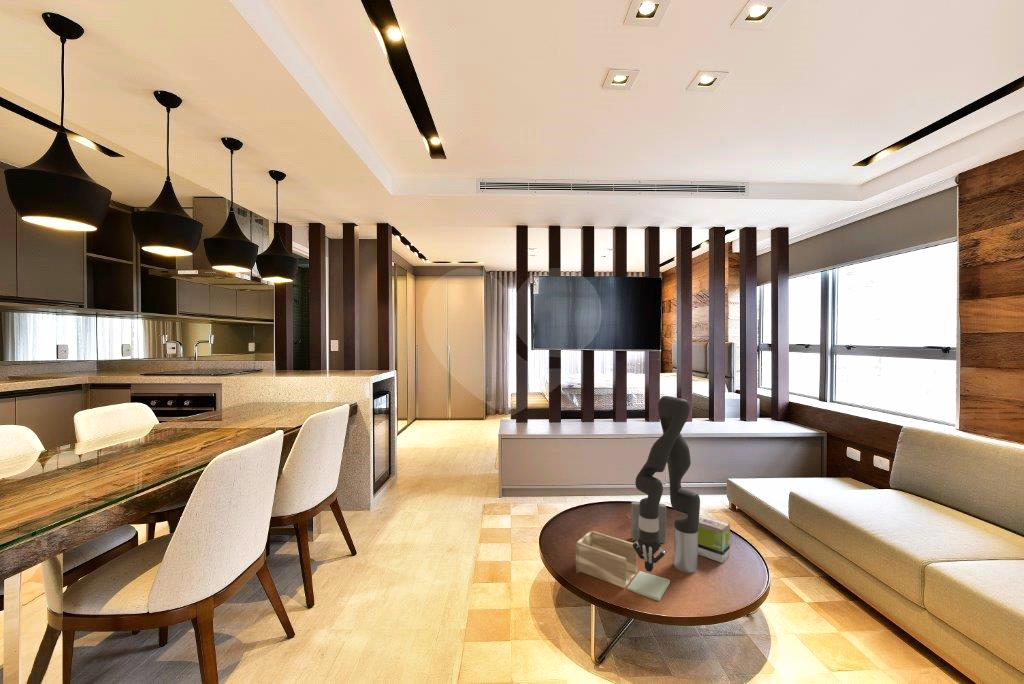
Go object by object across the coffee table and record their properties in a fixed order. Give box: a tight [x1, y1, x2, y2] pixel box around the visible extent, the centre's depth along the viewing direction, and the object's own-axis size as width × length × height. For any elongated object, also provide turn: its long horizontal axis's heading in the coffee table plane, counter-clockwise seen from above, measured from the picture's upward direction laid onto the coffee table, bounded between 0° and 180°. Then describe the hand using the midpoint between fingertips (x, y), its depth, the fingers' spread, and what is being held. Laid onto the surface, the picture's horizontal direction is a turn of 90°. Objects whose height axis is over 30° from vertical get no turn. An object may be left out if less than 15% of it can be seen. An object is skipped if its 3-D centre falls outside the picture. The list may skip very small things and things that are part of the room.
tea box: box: [698, 514, 731, 564], centre depth 187 cm, size 15×10×15 cm, turn 44°
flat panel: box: [626, 570, 671, 602], centre depth 161 cm, size 14×1×12 cm
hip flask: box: [630, 496, 667, 544], centre depth 200 cm, size 16×4×20 cm, turn 78°
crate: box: [575, 529, 639, 589], centre depth 171 cm, size 14×21×12 cm, turn 54°
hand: (648, 570), depth 161 cm, fingers closed
